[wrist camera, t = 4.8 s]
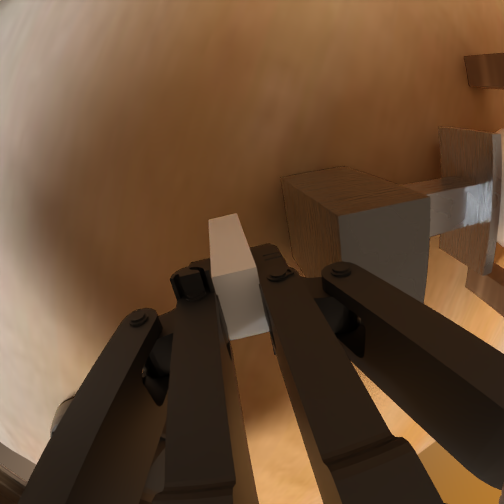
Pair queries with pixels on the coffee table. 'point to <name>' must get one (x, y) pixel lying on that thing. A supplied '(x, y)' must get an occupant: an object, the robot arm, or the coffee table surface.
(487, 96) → the coffee table surface
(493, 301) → the bridge
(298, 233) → the cube and plate dumbbell
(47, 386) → the coffee table surface
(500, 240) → the lidded jar
